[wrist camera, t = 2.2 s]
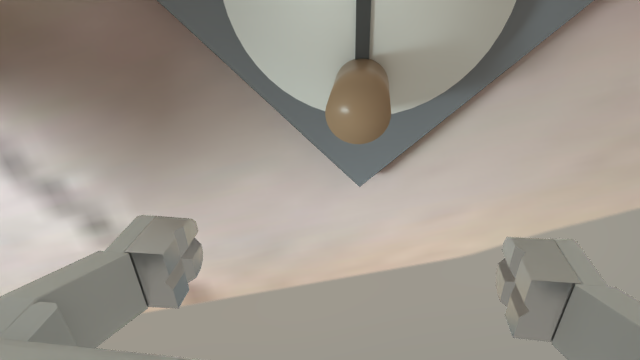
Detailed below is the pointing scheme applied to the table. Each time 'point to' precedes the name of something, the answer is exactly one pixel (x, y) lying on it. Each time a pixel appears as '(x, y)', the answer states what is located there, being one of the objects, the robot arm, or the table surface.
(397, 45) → the dial
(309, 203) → the table surface
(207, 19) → the dial housing
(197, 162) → the table surface
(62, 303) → the robot arm
